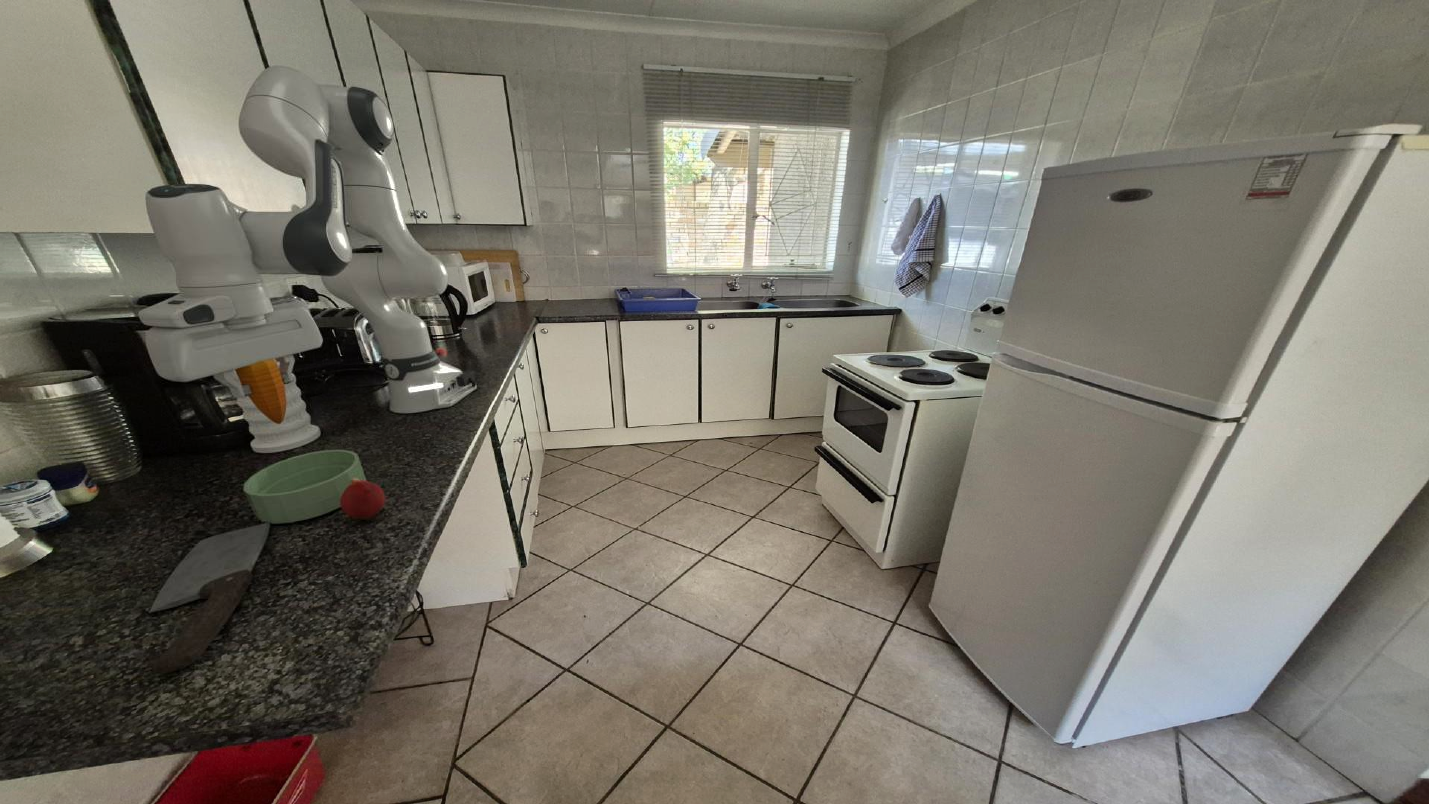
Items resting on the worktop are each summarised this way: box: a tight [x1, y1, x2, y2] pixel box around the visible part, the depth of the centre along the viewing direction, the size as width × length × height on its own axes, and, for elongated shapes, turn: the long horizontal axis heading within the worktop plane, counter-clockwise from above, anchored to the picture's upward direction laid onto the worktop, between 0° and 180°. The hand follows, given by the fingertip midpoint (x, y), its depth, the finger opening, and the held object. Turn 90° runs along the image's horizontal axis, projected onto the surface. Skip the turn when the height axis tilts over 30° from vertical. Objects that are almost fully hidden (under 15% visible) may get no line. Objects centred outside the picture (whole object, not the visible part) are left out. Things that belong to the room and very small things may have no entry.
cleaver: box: [148, 522, 271, 676], centre depth 60 cm, size 29×10×2 cm, turn 34°
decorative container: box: [231, 359, 321, 454], centre depth 97 cm, size 12×12×18 cm
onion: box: [340, 478, 387, 521], centre depth 74 cm, size 6×6×8 cm
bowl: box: [242, 449, 367, 525], centre depth 79 cm, size 15×15×6 cm
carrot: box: [235, 360, 287, 424], centre depth 72 cm, size 5×5×15 cm
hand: (265, 389), depth 72 cm, fingers closed on carrot, 5 cm apart
